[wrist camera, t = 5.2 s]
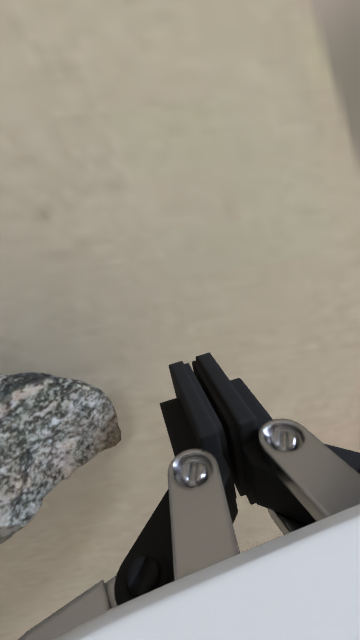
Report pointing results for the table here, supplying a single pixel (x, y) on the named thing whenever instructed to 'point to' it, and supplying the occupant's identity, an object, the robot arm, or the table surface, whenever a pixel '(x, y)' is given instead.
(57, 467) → the rock
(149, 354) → the table surface
